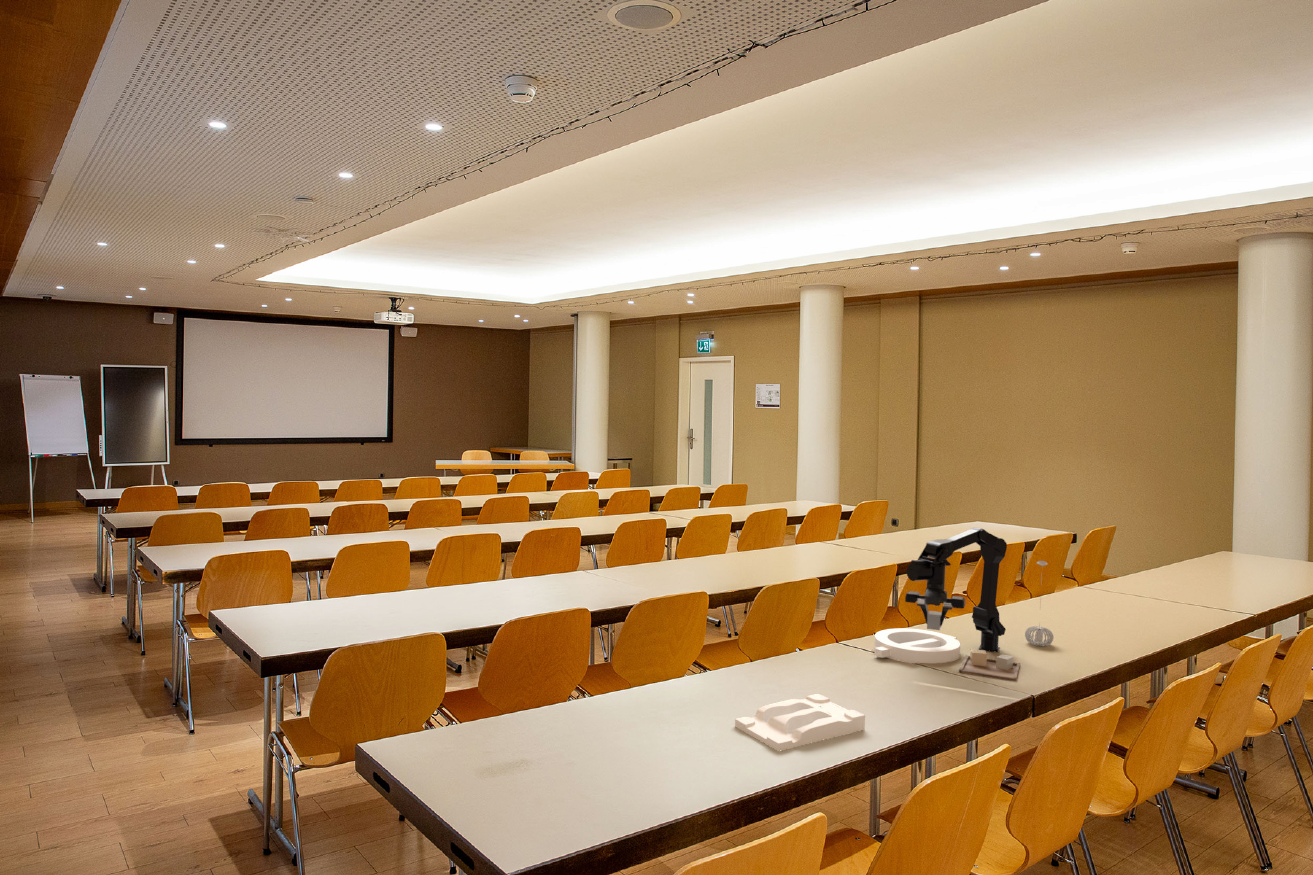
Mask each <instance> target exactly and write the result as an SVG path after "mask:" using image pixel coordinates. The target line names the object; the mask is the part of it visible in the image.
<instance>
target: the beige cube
mask: <svg viewBox="0 0 1313 875" xmlns="http://www.w3.org/2000/svg"><path fill="white" fill-rule="evenodd" d="M995 660H996V668H1000V669H1004V670H1008V669H1011V668H1013V662H1014V656H1012V655H1007V654H1003V653H1002V654H999V655H998V656H996V658H995Z"/></svg>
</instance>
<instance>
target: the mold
mask: <svg viewBox="0 0 1313 875" xmlns="http://www.w3.org/2000/svg"><path fill="white" fill-rule="evenodd" d="M865 726H866V715H865V714H864V713H862V712H859V711H857V710H855V709H847V708H845V707H843V706H840V705H838V704H837V703H834V702H832V701H831V700H830V698H829V697H826V696H824V695H822V694H821V693H820V694H819V693H815V694H810V695H807V696H806V697H805V698H801V699H797V698H790V699H787V700H786V699H785V700H782V701H778V702H774V703H770V704H766V705H763V706H761V707H760V708H758V709H757V710H756V712H755V715H754V716H752V717H750V716H743V717H738V718H735V719H734V727H736V729H739V730H740V731H742V732H744V733H746V734H747V735H749V736H751V737H752V738H754V739H756V740H757V739H758V740H757V741H759V740H760V741H759V742H761V743H763V742H764V743H765V744H764V743H763V744H764V745H766V746H768V745H769V746H768V747H770V748H771V747H773V748H774V749H773V748H772V749H773V750H775V751H776V750H778V751H779V752H781V751H780V750H783V751H787V750H789V749H788V748H791V749H793V748H792V747H795V748H798V747H797V746H799V747H801V746H800V745H803V746H806V745H805V744H807V745H810V744H809V743H811V742H815V743H818V742H817V741H819V742H822V741H821V740H823V739H827V740H831V739H834V738H833V737H835V738H838V736H839V737H842V736H841V735H843V736H845V735H844V734H847V735H849V734H850V733H851V734H854V733H853V732H855V733H857V732H856V731H859V732H861V730H863V731H865V728H866V727H865ZM830 738H831V739H830ZM823 741H824V740H823ZM811 744H812V743H811ZM786 749H787V750H786ZM778 751H777V752H778Z"/></svg>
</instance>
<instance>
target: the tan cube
mask: <svg viewBox="0 0 1313 875" xmlns="http://www.w3.org/2000/svg"><path fill="white" fill-rule="evenodd" d="M969 650H970V651H969V652H970V653H969V654H970V655H969V656H970V662H971V664H972V665H980V666H986V665H987V659H988V658H987V657H988V653H987V651H985V650H979V649H973V648H971V649H969Z"/></svg>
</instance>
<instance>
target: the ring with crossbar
mask: <svg viewBox="0 0 1313 875" xmlns="http://www.w3.org/2000/svg"><path fill="white" fill-rule="evenodd" d="M960 652H961V643H960V641H959V640H958V639H957V636H953V635H950V634H945V633H941V632H938V631H937V632H936V631H932V630H928V629H918V628H909V627H908V628H907V627H906V628H905V627H904V628H903V627H902V628H899V627H898V628H887V629H883V630H882V629H881V630H879V631H877V632H876V633H875V634H874V656H876V657H879V658H888V659H890V660H894V661H898V662H903V663H908V664H917V663H920V664H921V663H922V664H943V663H945V664H946V663H951V662H954V661H957V660H958V659H959V658H960V655H961V653H960Z"/></svg>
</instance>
